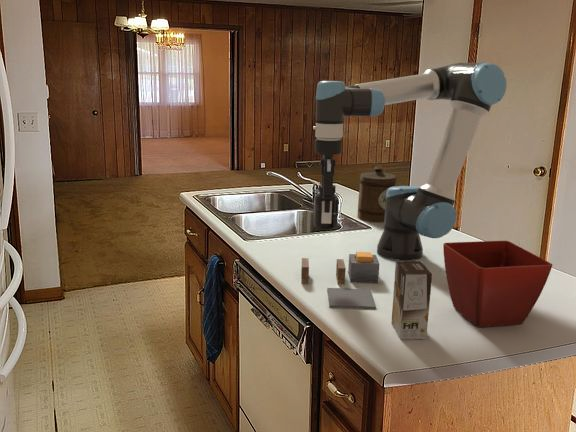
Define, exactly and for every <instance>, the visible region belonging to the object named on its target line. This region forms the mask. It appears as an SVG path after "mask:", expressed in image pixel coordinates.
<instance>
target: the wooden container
mask: <svg viewBox="0 0 576 432" xmlns="http://www.w3.org/2000/svg"><path fill="white" fill-rule="evenodd" d="M383 168H384V167H383V166H381V165H376V166H374V172H371V171H366V172H361V173H360V177H359V190H358V203H357V218H358V219H360V220H361V221H365V222H369V223H384V219H385V204H386V199H385V198H386V193H387V190H388V188H390V187H395V186H396V183H397V176H396V175H395V174H393V173H388V172H383Z"/></svg>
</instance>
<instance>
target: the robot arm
mask: <svg viewBox="0 0 576 432" xmlns="http://www.w3.org/2000/svg"><path fill="white" fill-rule="evenodd" d="M506 90H507V78H506V76H505V72H504V70H503V69H502V68H501V67H500V66H498V65H497V64H495V63H491V62H490V63H489V62H485V61H483V62H458V63H457V62H456V63H453V64H452V63H451V64H447V65H443V66H440V67H436V68H429V69H426V70H425V71H424V72H423V73H420V74H414V75H408V76H406V75H405V76H400V77H394V78H389V79H381V80H376V81H369V82H363V83H357V84H350V85H346V84H345V82H344V81H340V80H322V81H321V80H320V81H318V83H317V85H316V92H315V94H316V95H315V125H314V126H313V128H312V129H313V130H315V135H314V137H315V138H316V139H315V140H314V152H315V154H319V155H323V156H322V157H321V158H320V160H319V161H320V174H321V184H323V198H320V201H322V219H321V223H325V224H331V216H332V200H333V197H332V196H333V185H334V176H335V167H336V159H335V158H333V157H334V155H340V154H342V151H343V140H342V138H343V136H344V117H369V118H371V117H377V116H380V115H381V114H382V113H383V112H384V109H385V106H386V105H394V104H400V103H405V102H410V101H411V102H412V101H417V100H422V99H426V100H428V101H435V100H444V101H445V100H448V101H450V105H451V106H452V111H451V114H450V117H449V119H448V123H447V125H446V128H445V130H444V133H443V135H442V139H441V141H440V143H439V145H438V146H439V147H438V148H437V152H436V154H435V157H434V160H433V163H432V164H431V168H430V171H429V173H428V176H427V179H426V182H425V183H424V184H422V185H420V186H415V185H399V186H396V185H395V187H390V188H388V190H387V193H386V198H385V199H386V204H385V219H384V222H383V232H382V233H381V236H380V238H379V241H378V243H377V246H376V253H377V254H378V255H379V256H380V257H382V258H386V259H388V260H392V261H393V260H394V261H417V260H419V259H421V258H422V257H423V253H424V249H423V244H422V240H421V237H426V238H429V239H440V238H442V237H444V236H446V235H448V234H449V233H450V232H451V231H452V229H454V227H455V225H456V222H457V209H456V208H455V207H454V205H455V202H456V197H455V195H454V193H453V192H454V190H455V188H456V185H457V182H458V179H459V177H460V174H461V171H462V169H463V167H464V165H465V161H466V159H467V156H468V153H469V151H470V148H471V145H472V142H473V141H474V140H473V139H474V137H475V135H476V133H477V129H478V128H479V127H478V126H480V125H479V124H480V121H481V119H482V118H483V117H484V116H486V115H488V114H489V113H490V110H491V108H492V106H493V105H495V104H498V102H501V100H502V99H503V97H504V96H505V94H506ZM326 195H330V196H326Z"/></svg>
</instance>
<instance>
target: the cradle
mask: <svg viewBox="0 0 576 432" xmlns="http://www.w3.org/2000/svg"><path fill="white" fill-rule="evenodd" d="M309 259H310V258H309V257H302V258H301V270H300V271H301V274H300V275H301V276H300V277H301V280H300V281H301V283H300V284H302V285H309V277H310V276H309V275H310V260H309ZM335 268H336V270H335V277H336V282H337V285H339V286H345V285H346V272H347V271H346V264H345V260H344V258H336V267H335Z"/></svg>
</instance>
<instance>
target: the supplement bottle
mask: <svg viewBox="0 0 576 432" xmlns="http://www.w3.org/2000/svg"><path fill="white" fill-rule="evenodd" d="M336 189H337V188H336V185H335V184H333V196H332V197H333V200H332V216H331V224H325V223H321V219H322V201H320V198H323V184H322V183H320V184H319V185H318V189H317V191H318V193H317V194H315V196H314V200H313V203H314V204H313V223H312V225H313V227H315V228H316V229H320V230H333V229H336V228H337V226H338V217H339V216H338V215H339V197H338V195H337V194H336V191H337V190H336ZM326 196H330V195H326Z"/></svg>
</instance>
